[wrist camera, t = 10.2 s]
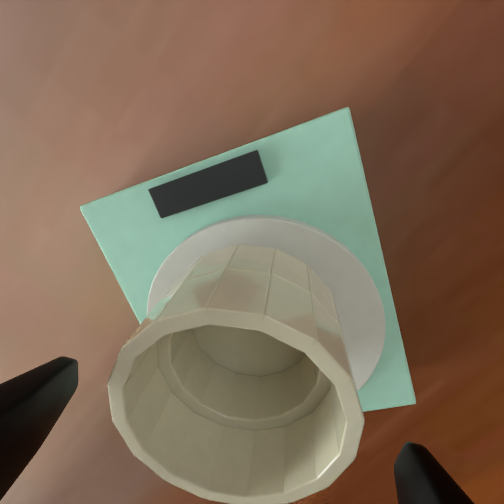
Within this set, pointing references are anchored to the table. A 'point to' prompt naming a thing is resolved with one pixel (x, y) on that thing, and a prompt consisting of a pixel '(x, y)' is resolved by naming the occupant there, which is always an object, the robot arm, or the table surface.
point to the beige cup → (240, 381)
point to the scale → (269, 235)
